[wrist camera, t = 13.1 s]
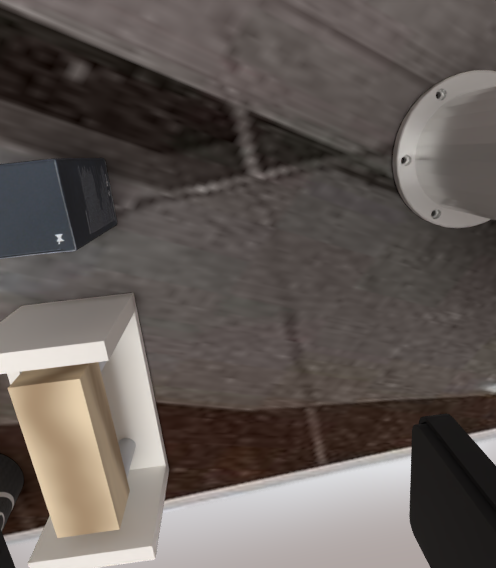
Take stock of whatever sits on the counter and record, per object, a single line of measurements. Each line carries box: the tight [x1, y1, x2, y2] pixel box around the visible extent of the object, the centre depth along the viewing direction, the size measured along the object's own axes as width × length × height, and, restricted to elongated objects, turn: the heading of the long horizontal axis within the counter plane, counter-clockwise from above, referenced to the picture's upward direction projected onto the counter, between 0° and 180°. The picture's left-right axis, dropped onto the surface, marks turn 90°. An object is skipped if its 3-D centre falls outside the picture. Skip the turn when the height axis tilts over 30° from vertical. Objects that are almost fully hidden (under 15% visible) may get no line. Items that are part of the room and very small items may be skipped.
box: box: [0, 158, 117, 259], centre depth 29 cm, size 8×6×11 cm
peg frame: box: [0, 292, 169, 568], centre depth 35 cm, size 10×20×10 cm, turn 6°
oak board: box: [8, 362, 130, 538], centre depth 32 cm, size 5×14×4 cm, turn 6°
